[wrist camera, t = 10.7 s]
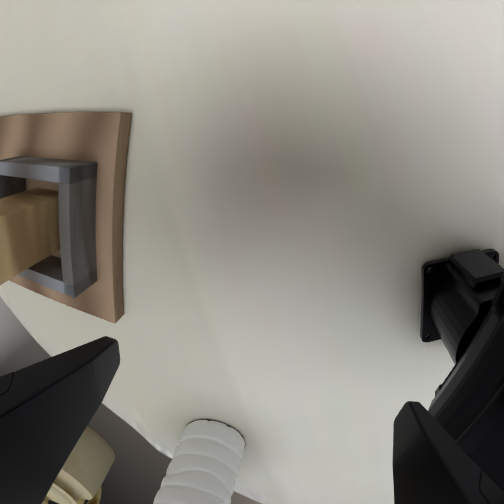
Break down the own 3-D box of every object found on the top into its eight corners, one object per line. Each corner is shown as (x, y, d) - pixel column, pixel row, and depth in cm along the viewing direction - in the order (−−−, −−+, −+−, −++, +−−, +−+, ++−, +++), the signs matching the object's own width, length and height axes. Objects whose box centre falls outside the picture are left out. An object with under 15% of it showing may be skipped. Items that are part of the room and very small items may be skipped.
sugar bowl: (149, 474, 36) (112, 552, 22) (110, 474, 39) (75, 538, 25) (73, 407, 33) (15, 485, 19) (45, 415, 36) (-4, 478, 22)
